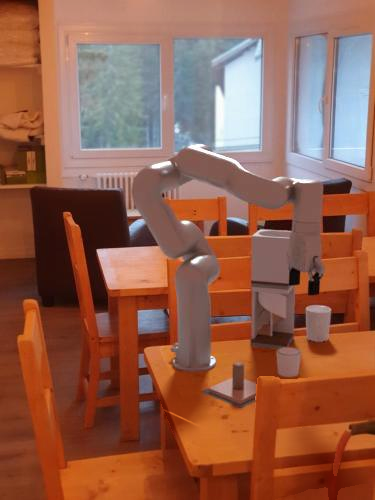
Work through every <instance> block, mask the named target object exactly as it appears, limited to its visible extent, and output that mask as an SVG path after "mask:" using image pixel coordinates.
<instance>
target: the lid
mask: <svg viewBox="0 0 375 500" xmlns="http://www.w3.org/2000/svg"><path fill="white" fill-rule="evenodd" d="M208 388H209V392H211V393H213V394H216V395H218V396H221V397H223V398H226V399H228V400H231V401H233V402H236V403H238V404H242V403H244V402H246V401H248V400H250V399H252V398H254V397H255V396H256V382H254V381H250V380H249V379H246V378H245V364H244V363H242V362H234V363H232V377H231V378H229V379H226V380H223V381H222V382H219V383H217V384H215V385H212V386H210V387H208Z"/></svg>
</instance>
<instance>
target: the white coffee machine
mask: <svg viewBox="0 0 375 500" xmlns="http://www.w3.org/2000/svg"><path fill="white" fill-rule="evenodd" d="M291 231H292V230H278V229H277V230H276V229H264V228H262V229H259V230H257V231H256V232H255V233H253V235H251V261H250V262H251V270H250V272H251V274H250V277H251V279H250V284H251V285H250V292H251V337H250V347H256V348H257V347H258V348H265V349H274V350H277V349H278V348H281V347H290V346H291V344H292V342H293V340H294V338H295V337H294V335H295V334H294V333H295V331H294V330H295V302H296V301H295V299H296V295H295V293H296V285H293V286H290V285H289V270H288V267H289V265H288V263H287V252H288V247H289V240H290V235H291Z"/></svg>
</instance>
